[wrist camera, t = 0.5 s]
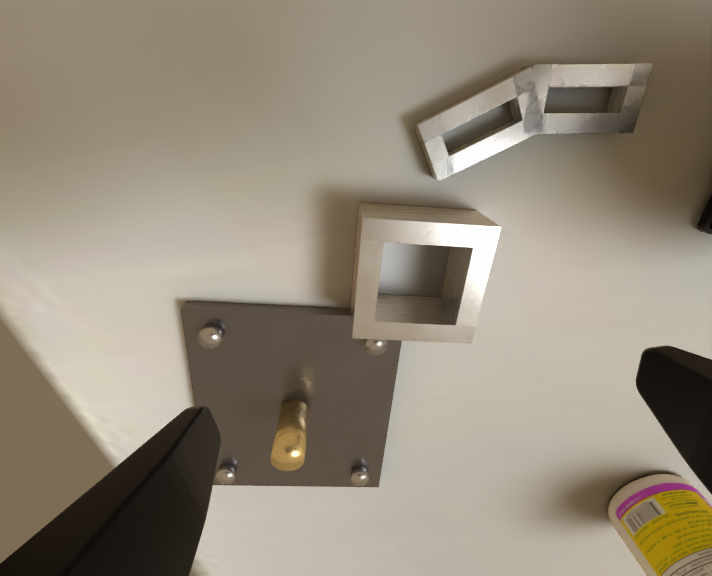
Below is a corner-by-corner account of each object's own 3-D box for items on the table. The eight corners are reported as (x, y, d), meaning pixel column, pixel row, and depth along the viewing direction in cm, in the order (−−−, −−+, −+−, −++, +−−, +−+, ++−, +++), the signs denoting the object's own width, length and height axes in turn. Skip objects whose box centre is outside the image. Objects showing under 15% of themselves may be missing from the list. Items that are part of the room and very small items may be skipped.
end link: (477, 210, 18) (501, 226, 16) (454, 313, 21) (471, 343, 18) (359, 202, 18) (362, 218, 15) (350, 308, 20) (352, 338, 18)
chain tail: (640, 66, 16) (658, 63, 15) (596, 190, 18) (609, 194, 17) (424, 44, 15) (429, 40, 14) (406, 175, 17) (410, 179, 16)
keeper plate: (402, 311, 21) (417, 356, 17) (377, 476, 27) (384, 538, 23) (186, 300, 20) (149, 346, 16) (210, 474, 26) (187, 538, 22)
